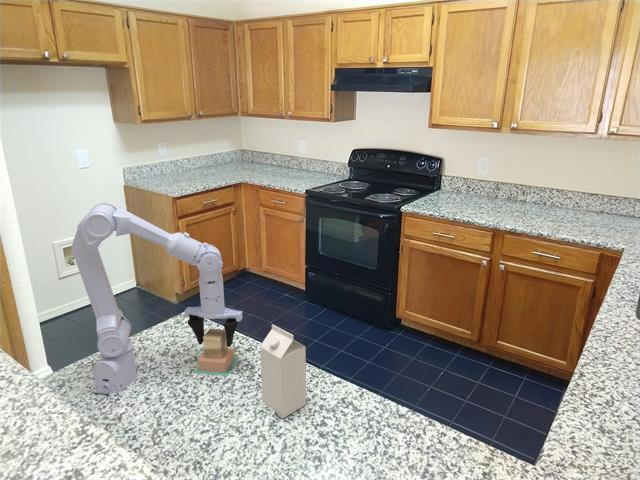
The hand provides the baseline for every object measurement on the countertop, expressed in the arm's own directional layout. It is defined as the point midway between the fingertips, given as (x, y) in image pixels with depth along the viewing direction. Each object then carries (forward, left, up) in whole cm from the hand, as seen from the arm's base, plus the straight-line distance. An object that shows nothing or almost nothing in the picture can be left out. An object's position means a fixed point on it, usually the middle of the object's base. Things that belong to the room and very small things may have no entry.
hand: (215, 343), depth 116 cm
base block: (0, 0, -6) cm, 6 cm away
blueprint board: (0, 0, -7) cm, 7 cm away
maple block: (0, 0, -3) cm, 3 cm away
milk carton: (-12, -21, -7) cm, 25 cm away
